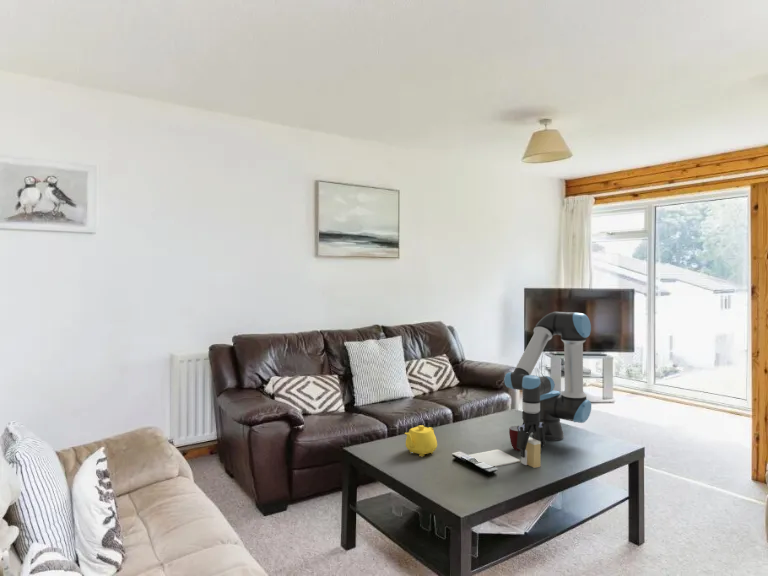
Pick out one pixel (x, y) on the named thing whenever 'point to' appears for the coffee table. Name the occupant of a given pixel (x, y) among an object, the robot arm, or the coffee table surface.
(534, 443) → the slab
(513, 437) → the mug
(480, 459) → the mat
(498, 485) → the coffee table surface
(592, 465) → the coffee table surface
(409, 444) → the teapot
